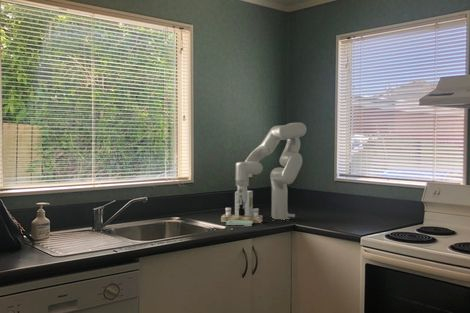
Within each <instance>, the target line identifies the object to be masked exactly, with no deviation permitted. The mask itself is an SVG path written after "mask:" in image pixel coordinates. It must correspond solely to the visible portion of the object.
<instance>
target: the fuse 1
mask: <svg viewBox="0 0 470 313" xmlns="http://www.w3.org/2000/svg"><path fill="white" fill-rule="evenodd" d="M225 215H226V216H231V215H232V208H231V207H225Z"/></svg>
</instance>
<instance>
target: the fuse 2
mask: <svg viewBox="0 0 470 313" xmlns="http://www.w3.org/2000/svg"><path fill="white" fill-rule="evenodd" d="M259 211H260V209H259V208H257V207H256V208H255V207H254V208H253V217H258V215H259Z"/></svg>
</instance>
